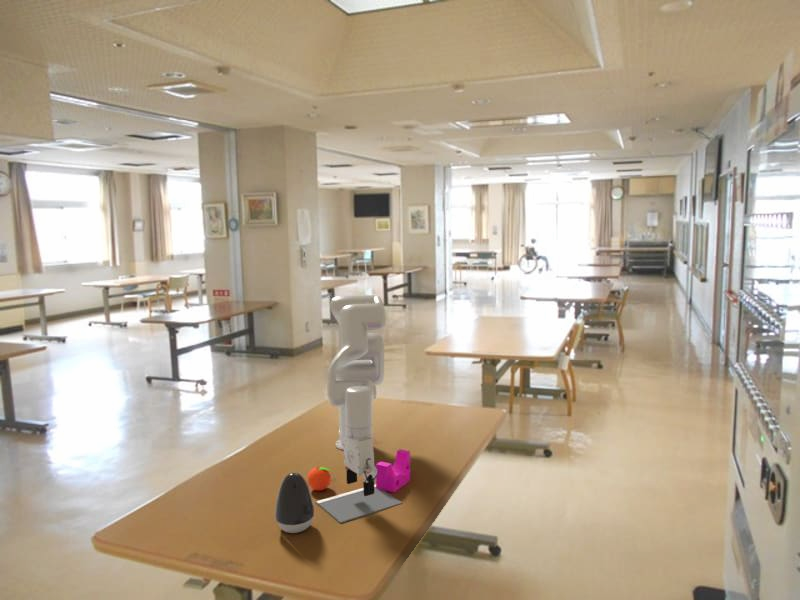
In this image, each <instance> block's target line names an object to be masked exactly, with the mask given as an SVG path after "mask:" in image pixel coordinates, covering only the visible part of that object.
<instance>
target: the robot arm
mask: <svg viewBox="0 0 800 600" xmlns="http://www.w3.org/2000/svg"><path fill="white" fill-rule="evenodd" d="M329 303H330V304H329V305H330V306H329V307H330V312H331V313H332V315H333V317H334V318H335V320H336V322H337V324H338V352H337V354H335V356H334V357H333V358H332V359H331V361H330V364H329V366H328V368H327V373H326V394H327V395H326V396H327V400H328V403H329V404H330V405H331V406H333V407H337V408H338V416H339V417H338V420H339V421H338V422H339V427H338V428H339V430H338V431H337V434H338V435H339V439H338V440H336V441H335V447H336V448H337V449H339V450H341V451H343V452H342V454H343V465H344V466H345V470H346V474H345V475H346V484H347V485H352V484H354V483H357V482H358V475H359V476H361V475H362V477H363V480H364V481H363V483H362V485H363V487H362V488H363V489H364V496H368V495H372V494H374V485H375V481H376V474H377V469H376V465H375V454H374V452H375V451H374V444H373V443H374V442H373V438H372V437H373V403H374V401H375V400H376V398H377V386H380V385H381V384H382V383H383V381H384V379H385V378H384V377H385V343H384V342H385V341H384V339H383V337H382V335H381V333H380V334H379V333H377V332H368V331H379V330H380V331H381V330H383V329H384V327H385V325H386V320H387V315H386V314H387V313H386V309H385V305H384V303H383V299H382V298H381V296H379V295H370V294H369V295H367V294H366V295H337V296H334V297H333V298H331V300H330V302H329ZM367 474H369V475H368V476H367Z"/></svg>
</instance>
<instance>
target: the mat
mask: <svg viewBox="0 0 800 600" xmlns="http://www.w3.org/2000/svg"><path fill="white" fill-rule="evenodd" d="M315 503H316V504H317V505H318V506H319V507H320V508H322V510H324V511H325V512H326V513H327V514H328V515H329V516H331V517H332V518H333V519H335V520H336V521H337V522H338V523H339V524H340V523H341V524H344V523H346V522H350V521H353V520H356V519H359V518H362V517H366V516H369V515H372V514H374V513H378V512H381V511H383V510H386V509H389V508H393V507H396V506H399V505H402V504H403V502H402V501H401V500H399V499H397V498H396V497H394V496H393V495H392V494H390V492H388V491H385V490H381V489H377V488H376V483H374V494H372V495H368V496H364V489H363V487H362V488H358V489H355V490H351V491H348V492H344V493H339V494H337V495H334V496H333V495H332V496H330V497H327V498H324V499H319V500H317V501H315Z"/></svg>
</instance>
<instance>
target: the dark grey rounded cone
mask: <svg viewBox="0 0 800 600" xmlns="http://www.w3.org/2000/svg"><path fill="white" fill-rule="evenodd" d="M309 487H310V486H309V484H308V483H307V481H306V479H305V478H304V477H303V475H302V474H301V473H299V472H296V471H295V472H290V473H287V474H286V475H285V476H284V478H283V480H282V481H281V483H280V486H279V489H278V492H277V496H276V502H275V508H274V518H275V521H276V523H277V525H278V527H279V528H280V530H282V531H283V532H285V533H289V534H298V533H301V532H303V531H306V530H307V529H308V528H309V527H310V525H311V523H312V521H313V518H314V516H315V506H314V502H313V497H312V494H311V491H310V488H309Z"/></svg>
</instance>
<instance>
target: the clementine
mask: <svg viewBox="0 0 800 600" xmlns="http://www.w3.org/2000/svg"><path fill="white" fill-rule="evenodd" d="M331 474H332V475H333V476H334V473H333V472H332V470H331V469H329V468H328V467H324V466H315V467H314V468H312V469H311V470H310V471H309V472H308V476H307V482H308V483H307V484H308V486H309V487H310V488H311V489H313V490H314V491H318V492H320V491H324V490H325V489H327V487H328V486H330V484H331V479H332V475H331Z"/></svg>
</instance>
